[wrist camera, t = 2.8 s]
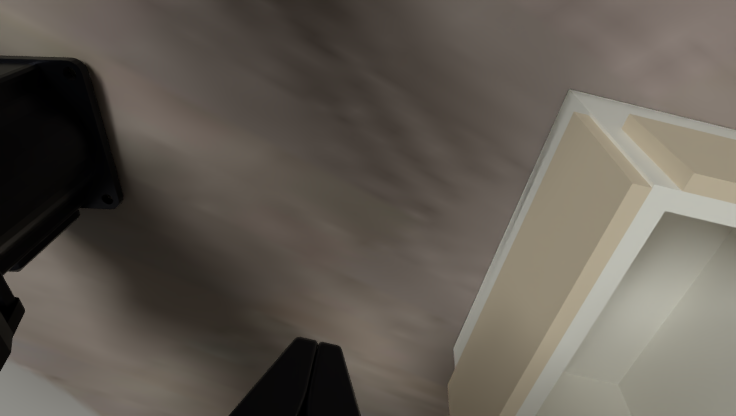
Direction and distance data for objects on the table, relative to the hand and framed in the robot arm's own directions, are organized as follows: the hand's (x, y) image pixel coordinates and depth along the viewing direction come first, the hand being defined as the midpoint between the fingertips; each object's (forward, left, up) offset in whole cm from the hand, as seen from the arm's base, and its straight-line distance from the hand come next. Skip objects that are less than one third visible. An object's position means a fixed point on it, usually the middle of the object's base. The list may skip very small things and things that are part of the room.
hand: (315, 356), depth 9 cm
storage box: (+6, +10, -12) cm, 17 cm away
